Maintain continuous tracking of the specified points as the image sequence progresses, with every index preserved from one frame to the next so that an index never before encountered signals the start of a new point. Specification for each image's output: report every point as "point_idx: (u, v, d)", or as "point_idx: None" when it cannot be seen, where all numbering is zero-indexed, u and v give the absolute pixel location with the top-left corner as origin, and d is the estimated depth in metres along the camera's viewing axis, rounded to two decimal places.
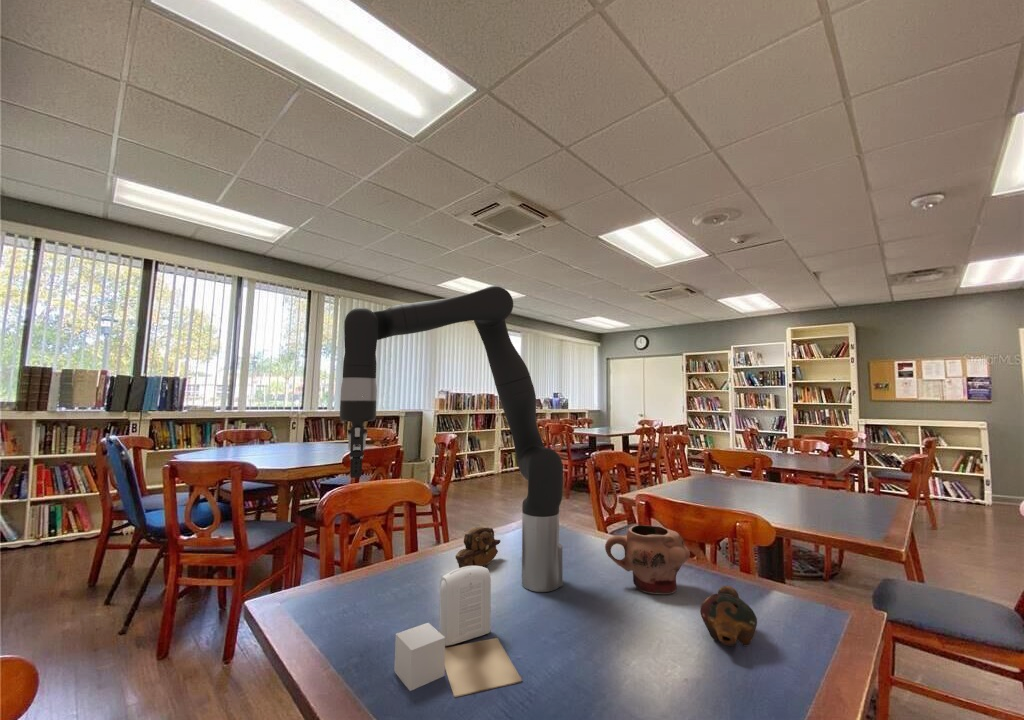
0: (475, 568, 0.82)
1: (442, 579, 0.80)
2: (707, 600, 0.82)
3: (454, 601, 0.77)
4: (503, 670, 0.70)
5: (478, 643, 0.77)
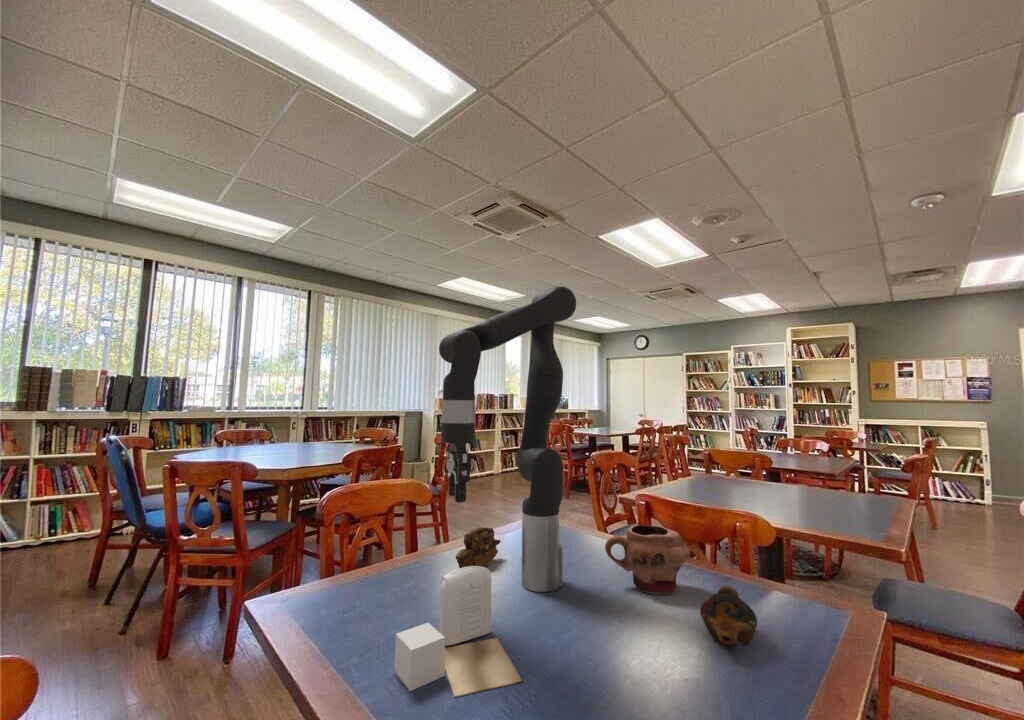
0: (476, 568, 0.82)
1: (443, 579, 0.79)
2: (707, 600, 0.82)
3: (455, 601, 0.77)
4: (503, 670, 0.70)
5: (478, 643, 0.77)
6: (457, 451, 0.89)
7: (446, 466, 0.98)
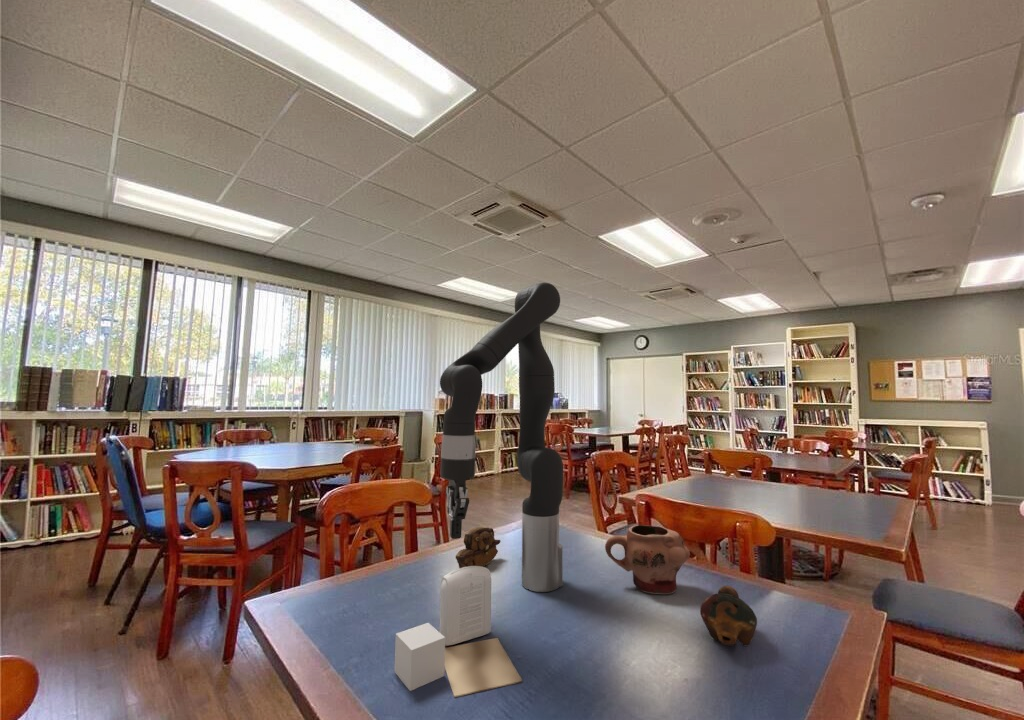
0: (476, 568, 0.82)
1: (443, 579, 0.79)
2: (706, 600, 0.82)
3: (455, 601, 0.77)
4: (503, 670, 0.70)
5: (478, 643, 0.77)
6: (456, 490, 0.88)
7: (447, 507, 0.94)
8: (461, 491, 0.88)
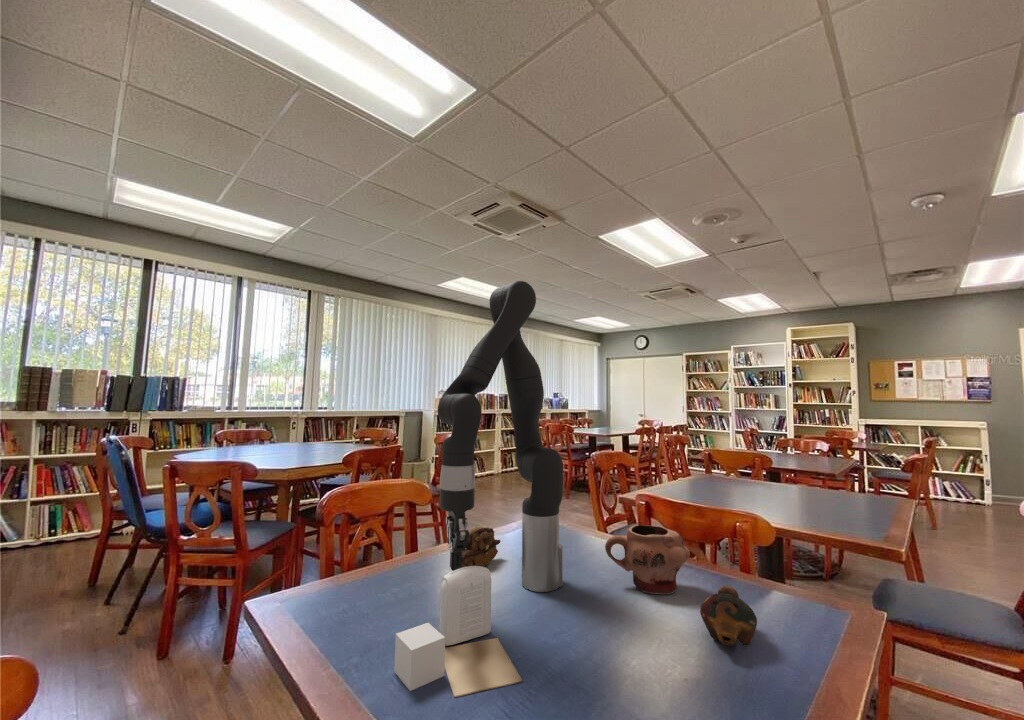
0: (476, 568, 0.82)
1: (443, 579, 0.79)
2: (706, 600, 0.82)
3: (455, 601, 0.77)
4: (503, 670, 0.70)
5: (478, 643, 0.77)
6: (456, 522, 0.87)
7: (447, 537, 0.93)
8: (461, 523, 0.87)
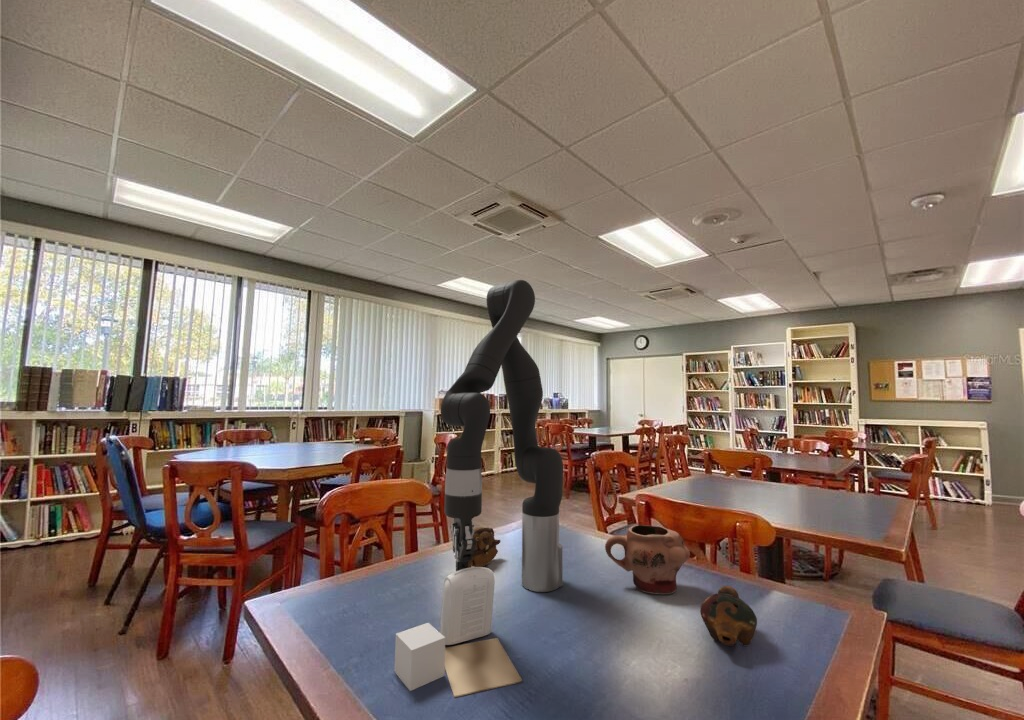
0: (480, 570, 0.81)
1: (446, 579, 0.79)
2: (707, 600, 0.82)
3: (457, 602, 0.77)
4: (503, 670, 0.70)
5: (478, 643, 0.77)
6: (462, 530, 0.81)
7: None
8: (467, 531, 0.81)
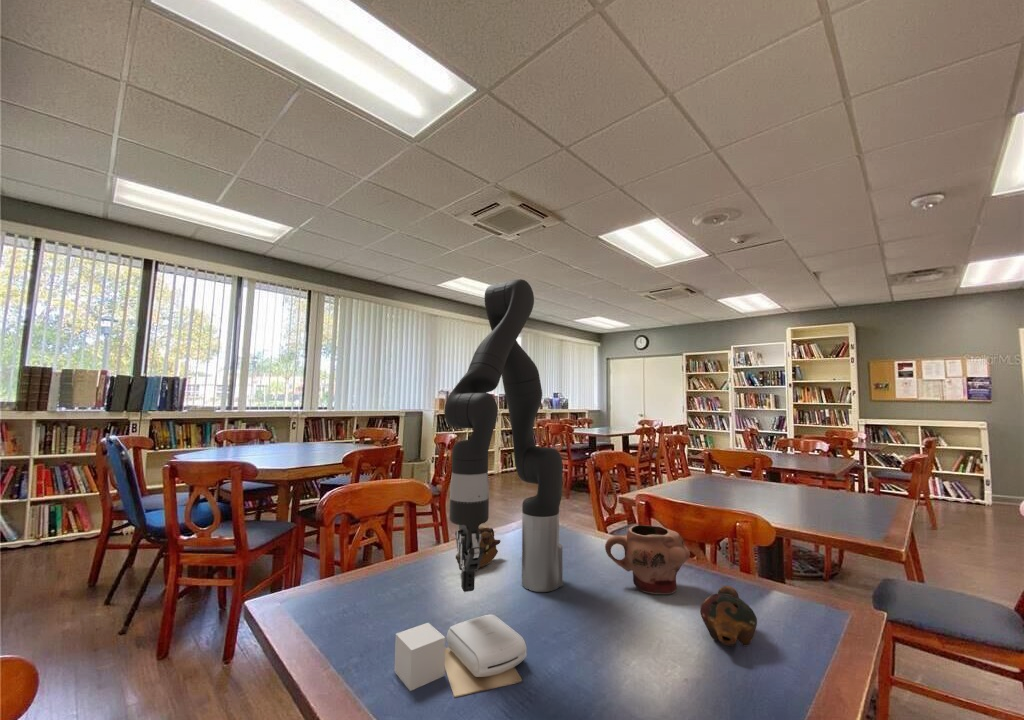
0: (514, 664, 0.69)
1: (478, 663, 0.67)
2: (707, 600, 0.82)
3: None
4: None
5: None
6: (469, 538, 0.77)
7: (458, 553, 0.83)
8: (474, 539, 0.77)
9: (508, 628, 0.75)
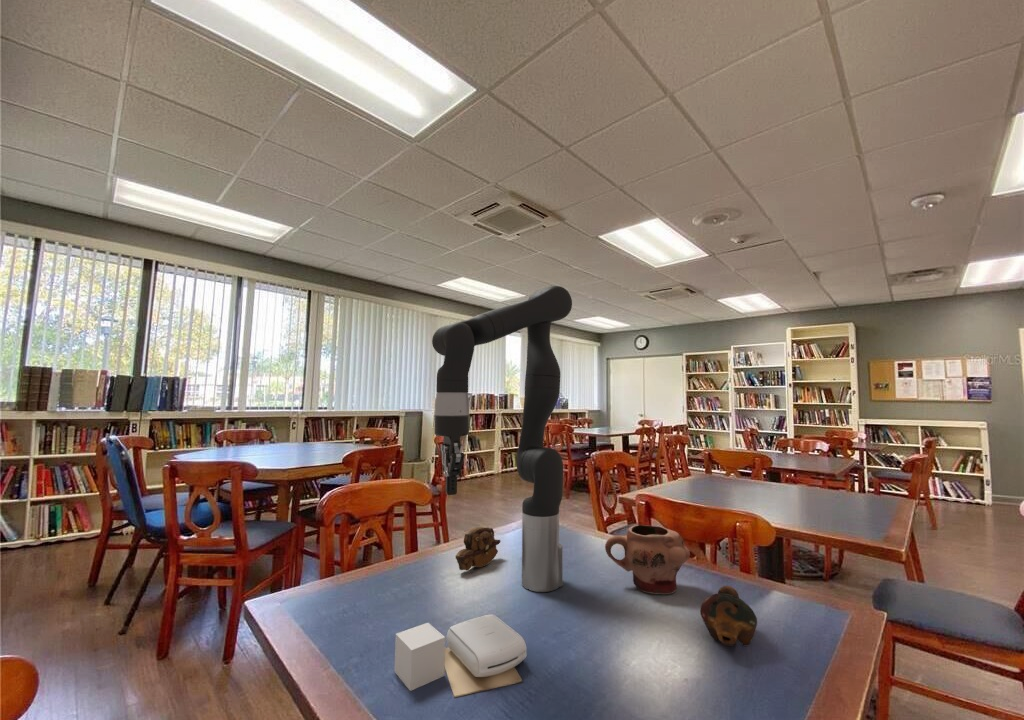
0: (514, 664, 0.69)
1: (478, 663, 0.67)
2: (707, 600, 0.82)
3: None
4: None
5: None
6: (451, 446, 0.88)
7: (442, 465, 0.95)
8: (456, 446, 0.88)
9: (508, 628, 0.75)
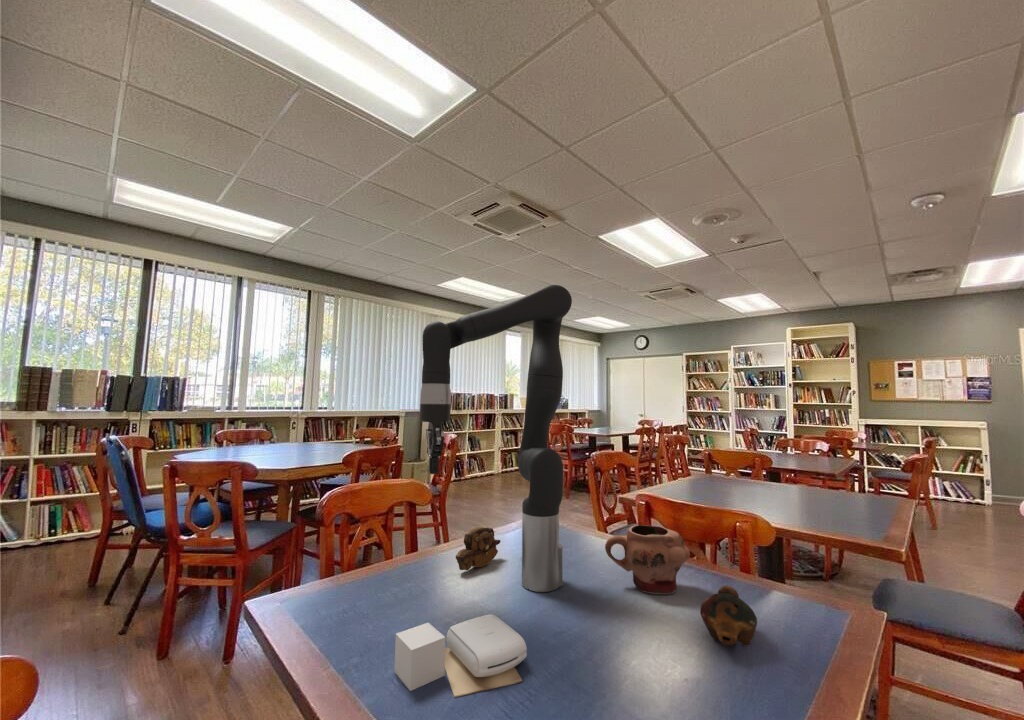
0: (514, 664, 0.69)
1: (478, 663, 0.67)
2: (707, 600, 0.82)
3: None
4: None
5: None
6: (433, 430, 1.00)
7: (427, 448, 1.07)
8: (437, 431, 1.00)
9: (508, 628, 0.75)
